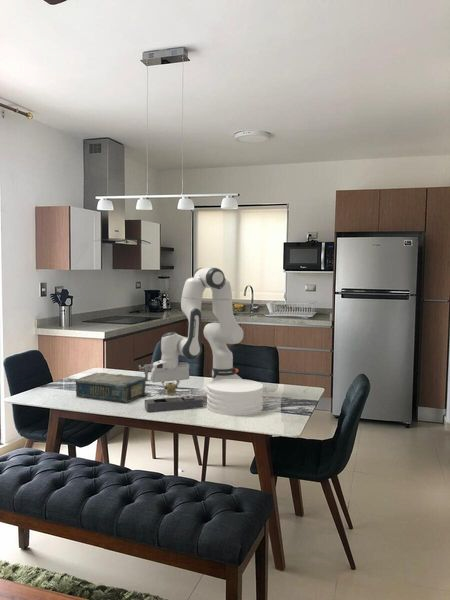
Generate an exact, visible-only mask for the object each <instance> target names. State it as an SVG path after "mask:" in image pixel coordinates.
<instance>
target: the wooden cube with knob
mask: <svg viewBox="0 0 450 600" xmlns="http://www.w3.org/2000/svg"><path fill="white" fill-rule="evenodd" d="M175 385H176V383H175V382H174V381H170V382H165V386H167V390H165V393H166V394H167V395H174V394H176V390H177V389H175Z"/></svg>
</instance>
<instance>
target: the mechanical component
mask: <svg viewBox="0 0 450 600" xmlns="http://www.w3.org/2000/svg"><path fill="white" fill-rule="evenodd" d="M137 368H138V369H139V371H140V372H143V373H144V377H145V378H146V382H148V380H149V372H151V371H152V369H153V368H154V367H153V363H152V364H151V363H150V364H144V365H143V366H141V364H139V365H137Z"/></svg>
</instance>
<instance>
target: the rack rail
mask: <svg viewBox="0 0 450 600" xmlns="http://www.w3.org/2000/svg"><path fill="white" fill-rule="evenodd" d="M191 396H192V397H193V400H185V401H183V400H182V396H178V397H176V396H175V397H163V398H152V399H151V398H150V399H144V409H145V411H146V412H147V413H152V412H153V413H154V412H164V411H165V412H167V411H175V410H176V411H177V410H188V409H191V410H192V409H202V408H204V398H202V397H201V396H200V395H191Z"/></svg>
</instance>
